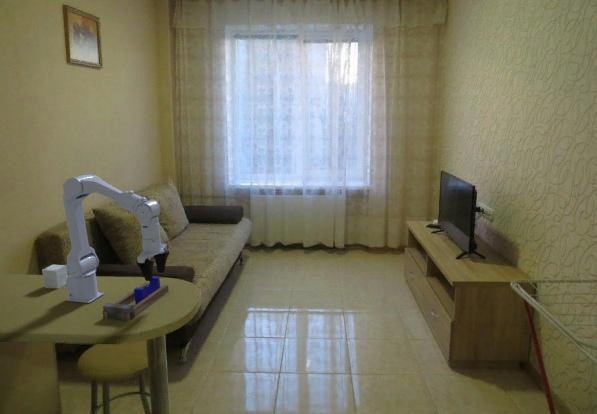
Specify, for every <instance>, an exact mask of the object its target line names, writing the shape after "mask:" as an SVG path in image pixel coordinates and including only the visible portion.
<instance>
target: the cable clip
mask: <svg viewBox="0 0 597 414" xmlns="http://www.w3.org/2000/svg"><path fill="white" fill-rule="evenodd" d="M148 283H149V284H148V285H146V286H145V288H138V287H135V288H133V291H134V295H135V300H134V302H135V305H137V304H138V303H139V302H141V301H142V300H144V299H145V298H146V297H148V296H149V295H150V294H152V293H153V292H155V291H156V290H157V289H159V288H160V287H161V281H160V276H154V275H153V278H152V281H149V282H148Z"/></svg>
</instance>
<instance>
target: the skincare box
mask: <svg viewBox="0 0 597 414" xmlns="http://www.w3.org/2000/svg"><path fill="white" fill-rule="evenodd" d="M66 265H67V264H50V265H49V266H46V267H45V268H43V269H42V270H41V273H42V278H43V284H44V288H45V289H57V290H58V289H60V288H62V287H65V286H66V280H67V277H68V276H69V273H68V272H67V269H66Z"/></svg>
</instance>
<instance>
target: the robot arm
mask: <svg viewBox="0 0 597 414" xmlns="http://www.w3.org/2000/svg"><path fill="white" fill-rule="evenodd" d="M62 186H63V187H62V188H63V195H62V201H63V207H64V212H65V219H66V224H67V229H68V230H67V231H68V235H69V241H70V246H71V247H70V248H71V249H70V251H69V252H68V254H67V256H66V261H67V262H66V264H65V265H66V269H67V274H68V277H67V280H66V285H65V286H66V292H67V299H66V302H74V303H75V302H77V303H86V304H90V303H92V302H93V301H95V300H97V299H98V298H100V297H102V296H103V295H104V294H105V293H104V292H99V290H98V283H97V275H96V274H97V273H96V272H97V268H98V266H99V265H100V264H99V263H100V260H99V258H98V256H97V253H96V250H95V248H93V247H91V246H90V244H89V237H88V231H87V226H86V221H85V214H84V208H83V201H84V200H85V199H86V198H87V197H88V196H90V195H91V194H94V193H97V194H100V195H102V196H104V197H107V198H110V199H112V200H114V201H116V202H117V203H118V204H117V205H118V206H119V207H120V208H123V209H125V210H127V211H129V212H131V213H133V214H135V216H136V218H137V219H138V221H139V225H140V231H141V240H142V249H143V250H142V251H141V253H140V254H139V255H138V256H136V257H137V260H136V262H135V263H136V266H137V267H138V268H139V269H140V271H141V273H142V275H143V278H144V280H145V282H150V281H152V278H153V276H154V275H153V268H154V264H155V265H156V270H157V271H156V272H157V273H158V274H159V273H160V274H164V273H165V270H166V264H167V260H168V257H169V255H170V251H169V250H167V249H168V247H167V246H168V245H167V243H162V242H161V239H162V238H161V231H160V230H161V229H160V219H159V215H160V214H161V212H162V206H161V204H160V203H159V202H158V201H157V200H155V199H154V198H153V199H147V197H144V196H140V195H139V194H136V193H135V191H134V190H131V189H130V190H124V191H122V190H120V189H119V188H116V187H115V186H113V185H111V184H110V183H108V182H106V181H104V180H103V179H101V177H100V176H99V175H95V174H94V173H86V174H84V175H79V176H78V175H77V176H75V177H74V176H72V177H69V178H67V179H66V180H65V181H64V182H63V184H62ZM152 257H153V258H154V261H153V260H151V258H152Z"/></svg>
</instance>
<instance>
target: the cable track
mask: <svg viewBox="0 0 597 414" xmlns="http://www.w3.org/2000/svg"><path fill="white" fill-rule="evenodd" d="M149 283H150V282H148V283H147V282H145V283H143V284H141V285H140V286H138V287H137V288H145V286H146V285H148V284H149ZM166 292H167V293H168V292H169V284H163V285H162V286H160V288H159V289H157V290H156V291H155V292H153V293H152V294H150V295H149V296H148V297H146V298H145V299H144V300H142V301H141V302H139V303H138V304H137V305H136V304H135V305H132V304H131V303H132V302H135V295H134V290H132V291H130V292H129V293H128V294H126V295H125V296H123V297H122V298H120V299H119V300H118V301H117V300H116V302H114V303H111V302H107V303H105V304H104V305H102V311H101V312H102V318H103V319H105V320H108V319H114V320H120V321H125V322H130V321H131V320H133V319H134V318H135V317H137V316H138V315H139V314H141V313H142V312H143V311H145V310H146V309H148V308H149V307H150V306H151V305H153V304H154V303H155V302H157V301H158V300H159V299H160V298H162V297H163V296H165V295H166V294H167V293H166ZM165 293H166V294H165ZM161 296H162V297H161ZM156 300H157V301H156Z"/></svg>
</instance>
